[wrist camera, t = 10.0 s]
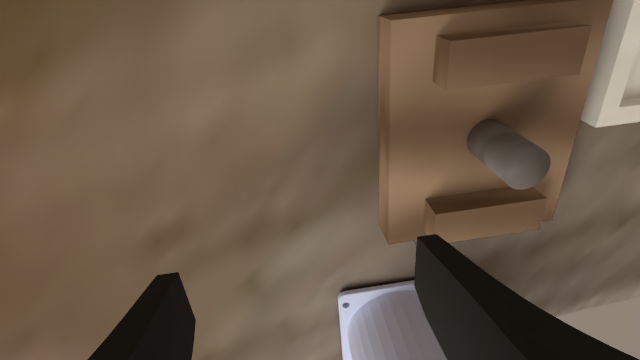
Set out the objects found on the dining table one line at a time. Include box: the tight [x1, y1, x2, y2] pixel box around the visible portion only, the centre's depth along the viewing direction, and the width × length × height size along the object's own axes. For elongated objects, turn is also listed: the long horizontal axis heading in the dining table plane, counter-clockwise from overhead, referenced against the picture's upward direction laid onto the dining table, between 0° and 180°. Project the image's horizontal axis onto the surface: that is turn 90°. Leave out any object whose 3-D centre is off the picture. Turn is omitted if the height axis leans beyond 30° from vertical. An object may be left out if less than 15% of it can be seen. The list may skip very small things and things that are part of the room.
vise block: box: [378, 0, 613, 245], centre depth 19 cm, size 13×10×6 cm
